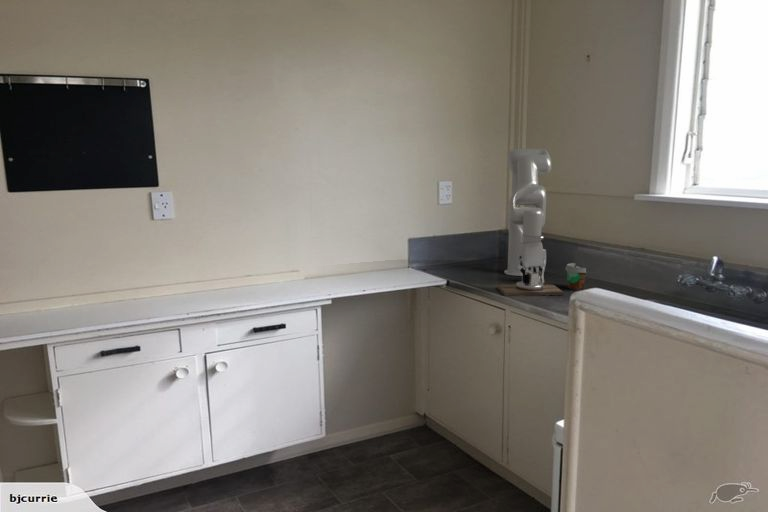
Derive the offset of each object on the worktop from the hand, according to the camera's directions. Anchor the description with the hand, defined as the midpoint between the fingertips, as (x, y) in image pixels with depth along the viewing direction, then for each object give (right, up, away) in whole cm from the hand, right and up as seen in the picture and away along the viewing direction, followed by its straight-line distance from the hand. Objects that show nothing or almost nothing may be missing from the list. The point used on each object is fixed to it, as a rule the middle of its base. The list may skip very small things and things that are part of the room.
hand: (529, 282), depth 255 cm
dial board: (0, -4, +1) cm, 4 cm away
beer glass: (+8, -1, +19) cm, 20 cm away
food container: (+20, -3, +7) cm, 21 cm away
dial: (0, -2, 0) cm, 2 cm away
